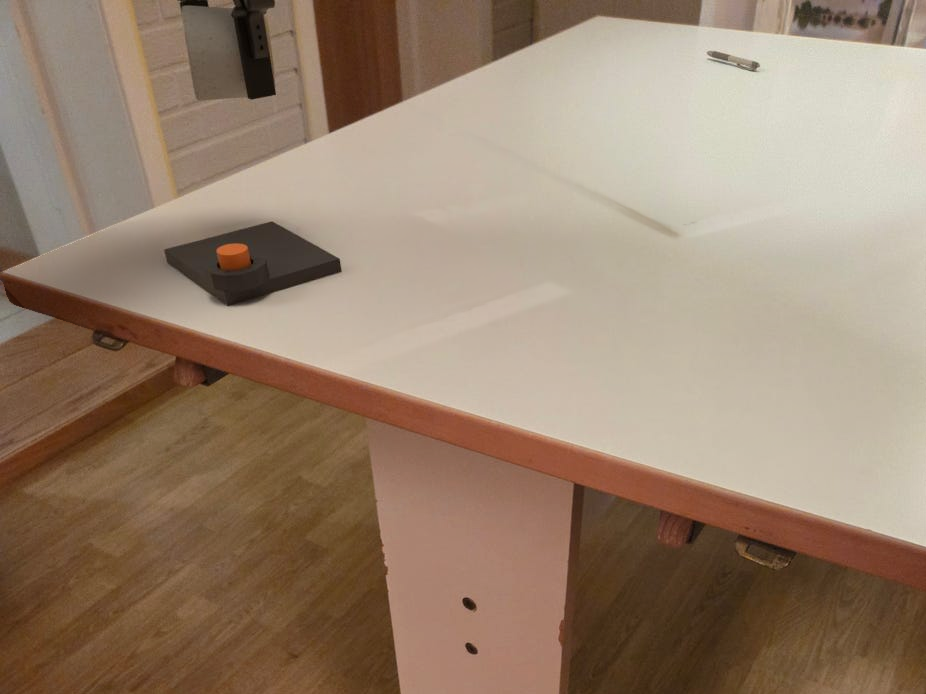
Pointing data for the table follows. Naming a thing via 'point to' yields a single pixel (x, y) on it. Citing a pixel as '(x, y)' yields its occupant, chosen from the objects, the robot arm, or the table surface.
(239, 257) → the button
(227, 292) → the dark grey flat block
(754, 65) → the pen
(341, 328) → the table surface
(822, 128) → the table surface
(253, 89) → the robot arm
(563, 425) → the table surface
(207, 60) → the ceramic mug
